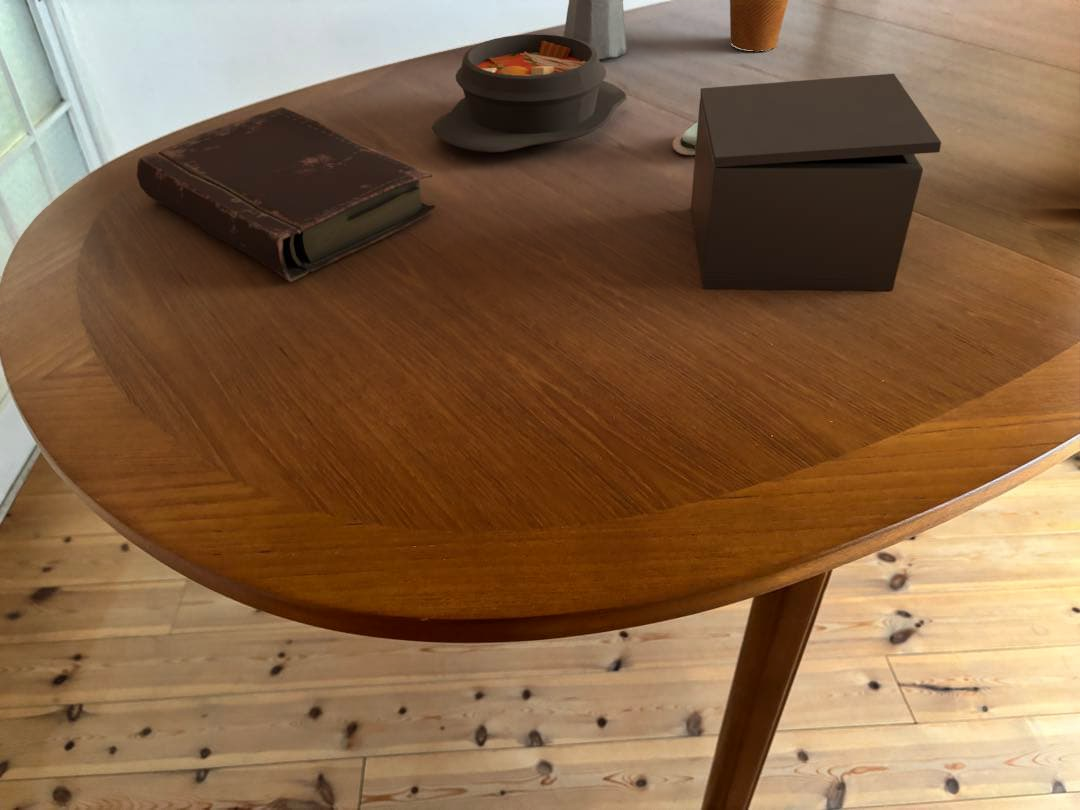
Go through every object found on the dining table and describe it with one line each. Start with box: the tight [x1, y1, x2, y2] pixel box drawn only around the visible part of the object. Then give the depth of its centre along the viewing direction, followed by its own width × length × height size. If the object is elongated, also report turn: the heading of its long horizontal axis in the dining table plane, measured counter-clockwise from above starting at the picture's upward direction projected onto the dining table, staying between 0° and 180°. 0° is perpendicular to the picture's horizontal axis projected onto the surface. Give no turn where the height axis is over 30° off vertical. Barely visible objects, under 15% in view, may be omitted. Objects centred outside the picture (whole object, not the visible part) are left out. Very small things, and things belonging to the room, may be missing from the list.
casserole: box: [431, 33, 627, 154], centre depth 105 cm, size 25×19×8 cm
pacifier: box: [672, 121, 698, 156], centre depth 99 cm, size 7×6×6 cm
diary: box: [136, 106, 436, 283], centre depth 91 cm, size 19×25×5 cm
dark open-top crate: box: [690, 97, 924, 292], centre depth 80 cm, size 16×15×11 cm
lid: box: [700, 73, 942, 167], centre depth 76 cm, size 17×15×1 cm
